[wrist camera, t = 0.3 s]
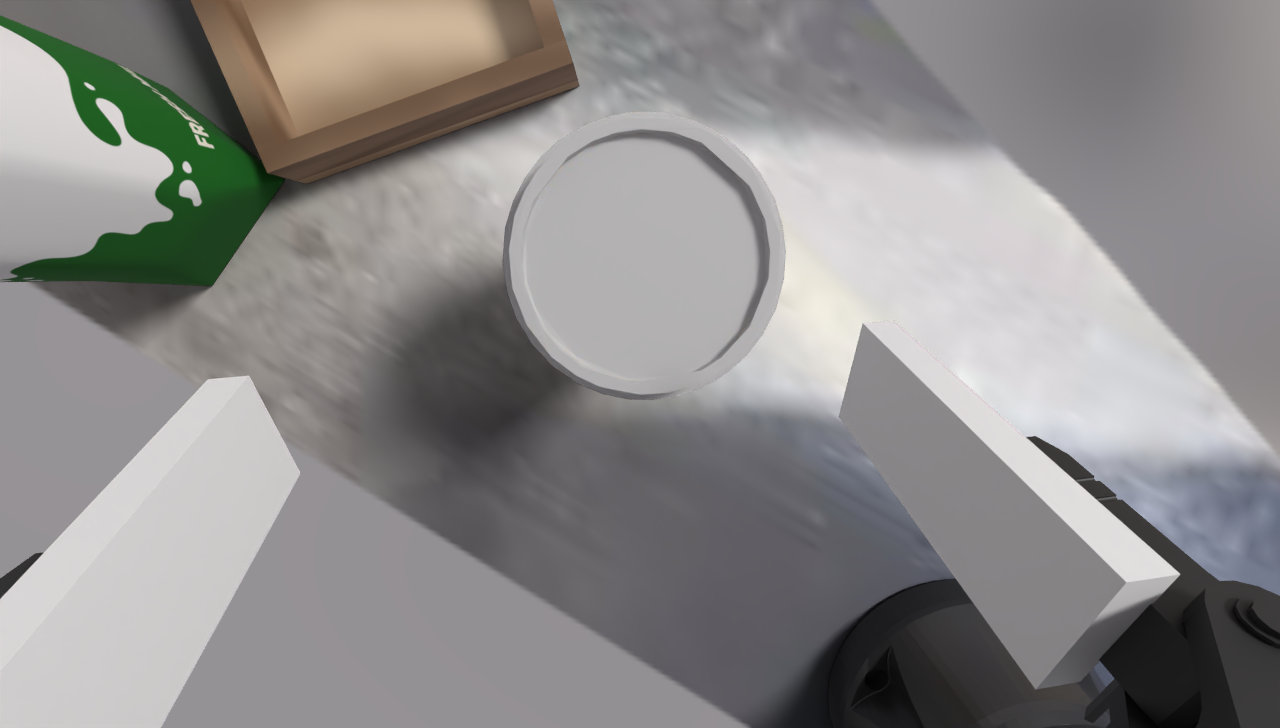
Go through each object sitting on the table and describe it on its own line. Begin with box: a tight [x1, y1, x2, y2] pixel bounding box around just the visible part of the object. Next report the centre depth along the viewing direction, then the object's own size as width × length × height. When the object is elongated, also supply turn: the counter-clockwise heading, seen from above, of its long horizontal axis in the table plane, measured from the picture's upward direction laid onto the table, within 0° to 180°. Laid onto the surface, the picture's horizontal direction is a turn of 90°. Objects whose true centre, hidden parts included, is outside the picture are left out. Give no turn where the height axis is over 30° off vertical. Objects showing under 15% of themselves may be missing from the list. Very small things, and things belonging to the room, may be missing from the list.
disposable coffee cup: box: [503, 112, 786, 400], centre depth 22 cm, size 10×10×12 cm
